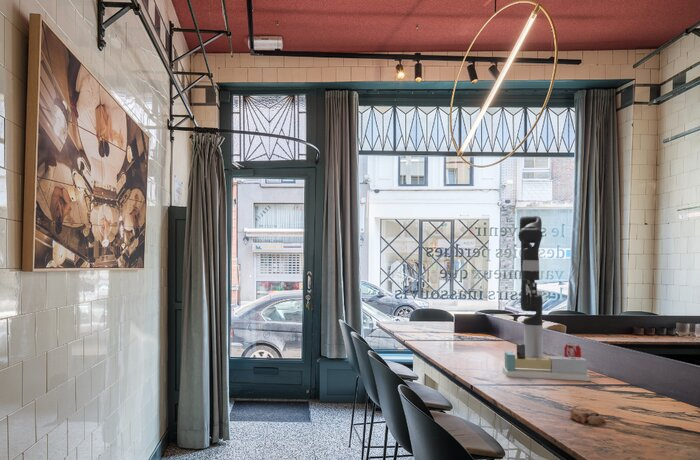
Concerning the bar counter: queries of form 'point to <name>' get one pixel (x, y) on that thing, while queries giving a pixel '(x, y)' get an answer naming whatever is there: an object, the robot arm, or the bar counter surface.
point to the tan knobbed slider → (530, 360)
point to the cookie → (586, 416)
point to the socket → (509, 361)
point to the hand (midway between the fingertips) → (531, 304)
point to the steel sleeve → (568, 365)
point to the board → (544, 374)
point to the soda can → (572, 350)
